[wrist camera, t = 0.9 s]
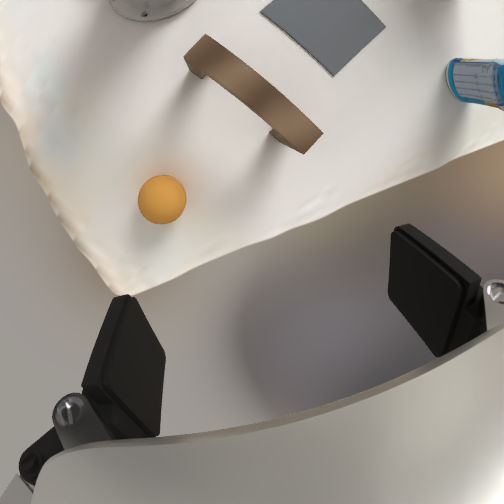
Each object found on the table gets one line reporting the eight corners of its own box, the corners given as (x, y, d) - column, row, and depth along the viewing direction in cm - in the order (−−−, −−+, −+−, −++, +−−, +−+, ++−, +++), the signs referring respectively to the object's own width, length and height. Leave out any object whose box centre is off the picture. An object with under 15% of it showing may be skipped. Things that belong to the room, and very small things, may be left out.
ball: (135, 197, 36) (123, 213, 31) (160, 161, 34) (151, 171, 29) (170, 222, 38) (165, 241, 33) (196, 188, 37) (195, 202, 32)
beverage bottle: (437, 73, 32) (537, 84, 15) (456, 49, 30) (548, 54, 12) (460, 111, 35) (552, 137, 18) (478, 86, 33) (564, 104, 16)
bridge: (189, 70, 29) (183, 56, 21) (205, 52, 28) (205, 33, 20) (280, 142, 35) (303, 154, 27) (295, 125, 35) (323, 133, 26)
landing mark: (260, 11, 26) (260, 11, 26) (321, -35, 23) (321, -35, 23) (333, 76, 32) (334, 75, 32) (385, 27, 28) (386, 26, 28)
